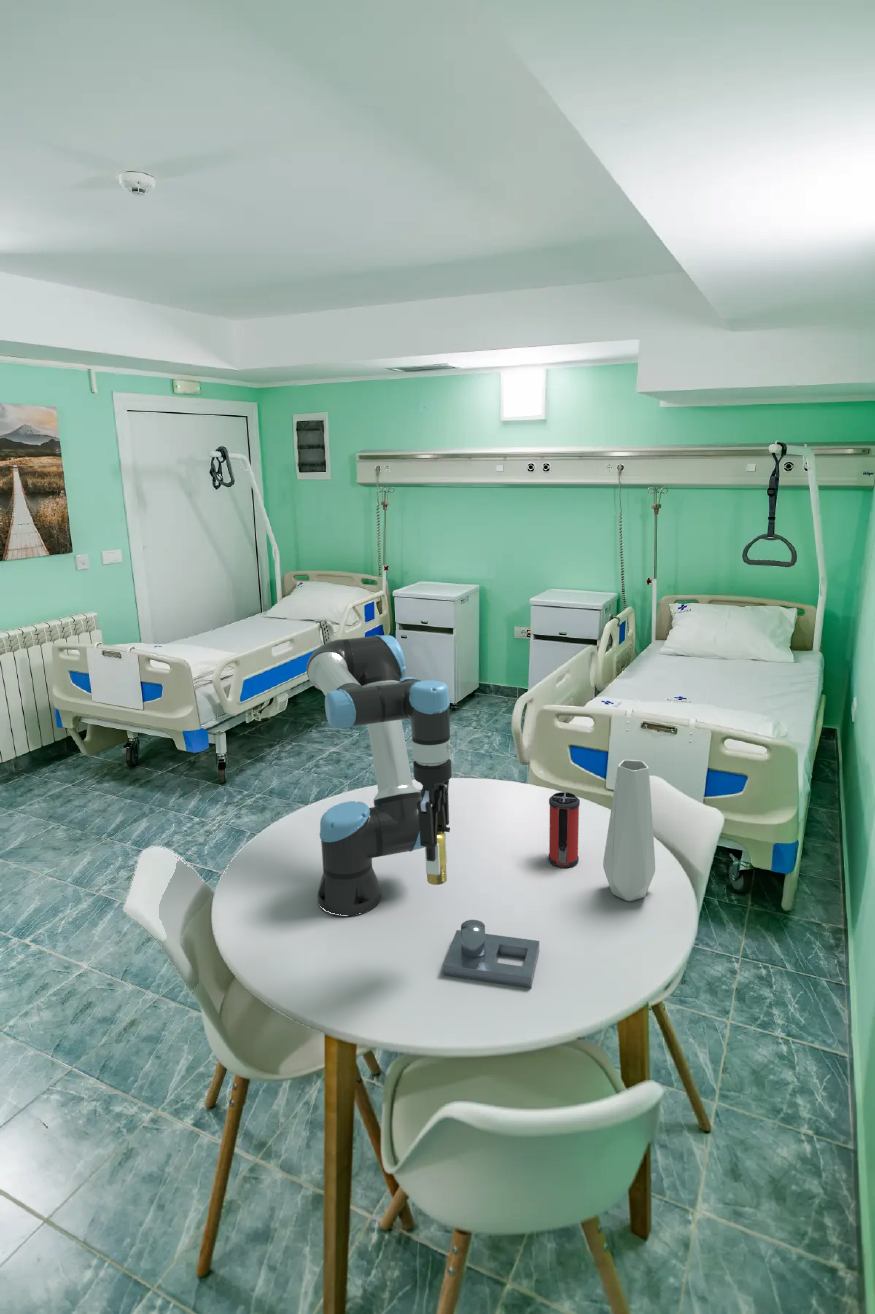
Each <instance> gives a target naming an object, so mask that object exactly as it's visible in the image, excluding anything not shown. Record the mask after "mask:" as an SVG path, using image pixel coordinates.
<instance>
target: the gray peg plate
mask: <svg viewBox="0 0 875 1314" xmlns="http://www.w3.org/2000/svg"><path fill="white" fill-rule="evenodd" d="M539 954H540V940H535V939H528V938H519V937H513V936H505V935H497V934H490V933H486V925H485V923H484V922H483V921H481V920H477V919H468V920H465V921H464V922H462V923H461V924H460V929H456V931H455V934H454V936H453V939H452V942H451V943H450V946H449V948H448V951H447V954H446V956H445V959H444V961H443V963H442V964H443V965H442V971H443V973H442V974H443V976H444V977H445V976H447V977H453V978H461V979H466V980H473V981H479V982H480V981H481V982H485V983H486V982H487V983H493V984H498V985H500V984H501V985H505V986H512V987H518V988H525V989H532V986H533V984H534V983H533V982H534V978H535V974H536V973H535V972H536V969H537V964H538V961H539V960H538V959H539ZM500 956H506V957H513V958H522V959H524V963H523V966H522V965H516V964H515V965H514V964H508V963H503V962H498V961H499V958H500Z"/></svg>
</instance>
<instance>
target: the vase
mask: <svg viewBox="0 0 875 1314" xmlns="http://www.w3.org/2000/svg"><path fill="white" fill-rule="evenodd" d="M650 779H651V778H650V768H649V766H648V764H646V762H645V761H643V760H639V759H638V760H637V759H623V760H622V761H620V763H619V764H618V765H617V769H616V775H615V782H614V789H613V795H612V801H611V802H612V803H611V807H610V816H609V822H608V828H607V836H606V840H605V841H606V842H605V848H604V855H603V864H602V865H603V871H604V874H605V877H606V880H607V883H608V886H609V889H610V892H611V894H612V895H614V896H615V897H618V898H619V899H622V900H624V901H625V902H633V901H636V900H640V899H643V898H645V897H646V895H647V893H648V890H649V889H650V885H651V883H652V880H653V878H654V876H655V873H656V856H655V855H656V854H655V852H656V851H655V842H654V841H655V839H654V827H653V826H654V824H653V823H654V822H653V810H652V797H651V795H652V794H651V793H652V792H651V780H650Z"/></svg>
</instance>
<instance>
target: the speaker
mask: <svg viewBox="0 0 875 1314" xmlns="http://www.w3.org/2000/svg"><path fill="white" fill-rule="evenodd" d="M548 805H549V838H548V839H549V841H548V842H549V846H548V847H549V849H548V850H549V853H548V861H549V862H550V863H551V864H552V865H553V866H555V867H562V868H570V867H573V866H575V865H576V864H578V862H579V861H580V859H579V822H580V821H579V819H580V817H579V816H580V812H579V811H580V805H581V803H580V799H579V798H578V797H577V796H576V795H575V794H573V793H571V792H567V791H560V792H556V793H553V795H551V796H550V797H549V799H548Z"/></svg>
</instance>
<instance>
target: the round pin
mask: <svg viewBox="0 0 875 1314" xmlns="http://www.w3.org/2000/svg"><path fill="white" fill-rule="evenodd" d="M445 833H446V832H442V831H438V830H437V843H439V858H440V874H439V875H435V874H427V873H426V878H427V879H426V881H427V883H428V884H430V885H434V886H438V885H443V884H445V883H446V882H447V881H448V878H447V877H448V876H447V874H448V873H447V863H446V851H447V848H446V849H445Z"/></svg>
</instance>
